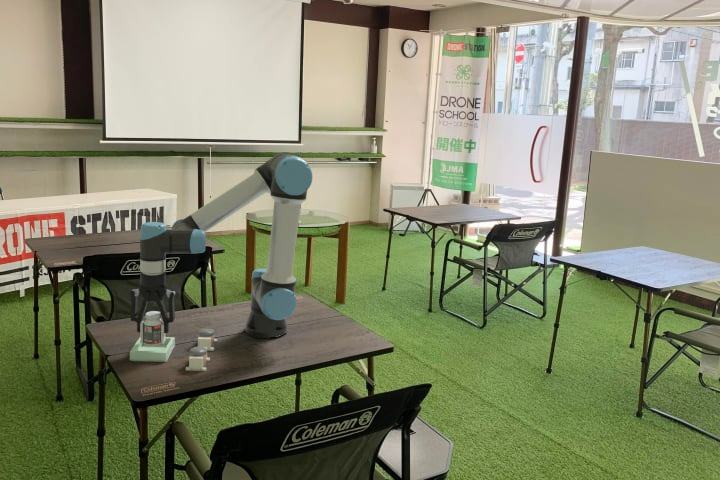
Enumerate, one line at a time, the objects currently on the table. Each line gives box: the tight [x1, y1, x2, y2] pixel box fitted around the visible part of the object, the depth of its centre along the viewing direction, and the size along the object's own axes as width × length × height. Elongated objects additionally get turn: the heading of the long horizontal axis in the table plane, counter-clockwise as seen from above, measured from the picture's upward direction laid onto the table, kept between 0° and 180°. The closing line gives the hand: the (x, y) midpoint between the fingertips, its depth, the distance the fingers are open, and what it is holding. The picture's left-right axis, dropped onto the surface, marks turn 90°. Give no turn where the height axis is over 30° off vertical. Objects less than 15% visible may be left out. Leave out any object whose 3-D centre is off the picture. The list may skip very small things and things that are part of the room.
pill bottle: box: [143, 310, 163, 346], centre depth 199 cm, size 6×6×10 cm
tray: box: [129, 336, 176, 363], centre depth 200 cm, size 11×13×3 cm
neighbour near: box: [189, 346, 208, 367], centre depth 194 cm, size 5×5×5 cm
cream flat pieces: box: [185, 336, 218, 372], centre depth 202 cm, size 6×24×4 cm, turn 5°
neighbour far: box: [198, 328, 216, 347], centre depth 209 cm, size 5×5×5 cm
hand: (153, 341), depth 200 cm, fingers closed on pill bottle, 6 cm apart
